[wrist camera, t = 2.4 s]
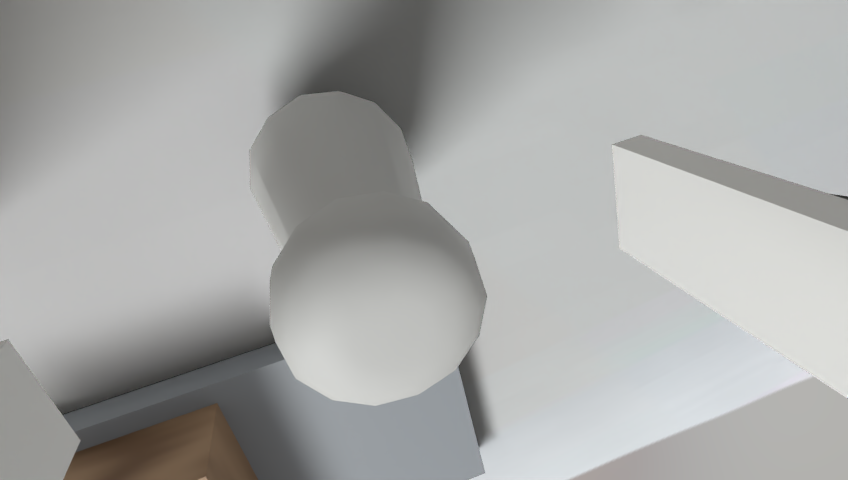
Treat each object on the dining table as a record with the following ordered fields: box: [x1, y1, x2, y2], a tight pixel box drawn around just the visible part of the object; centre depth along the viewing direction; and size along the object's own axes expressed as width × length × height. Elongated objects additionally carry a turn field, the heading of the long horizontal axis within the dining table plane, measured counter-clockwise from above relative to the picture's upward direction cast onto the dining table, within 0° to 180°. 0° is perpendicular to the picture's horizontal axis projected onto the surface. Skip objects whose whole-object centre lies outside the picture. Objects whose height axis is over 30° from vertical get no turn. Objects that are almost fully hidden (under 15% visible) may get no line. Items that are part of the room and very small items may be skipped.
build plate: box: [63, 343, 485, 480], centre depth 25 cm, size 22×11×2 cm, turn 104°
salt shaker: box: [249, 91, 487, 406], centre depth 15 cm, size 6×6×13 cm
